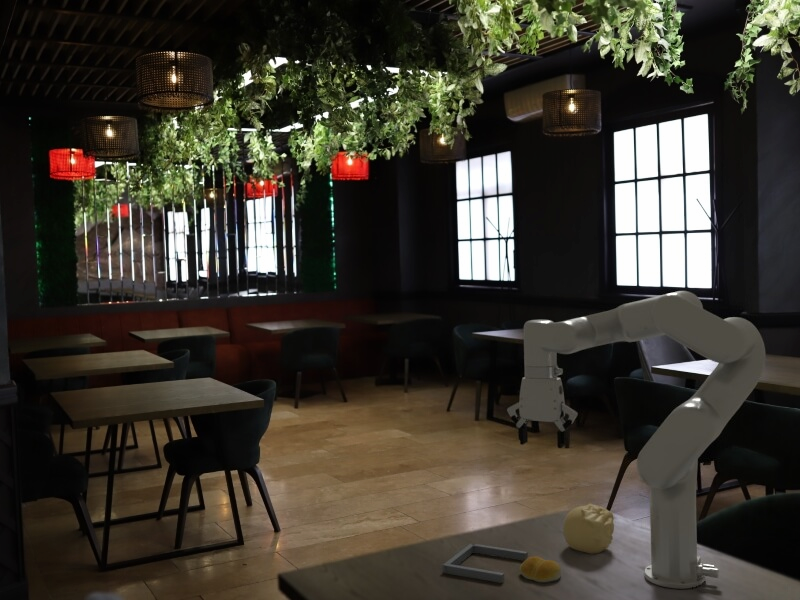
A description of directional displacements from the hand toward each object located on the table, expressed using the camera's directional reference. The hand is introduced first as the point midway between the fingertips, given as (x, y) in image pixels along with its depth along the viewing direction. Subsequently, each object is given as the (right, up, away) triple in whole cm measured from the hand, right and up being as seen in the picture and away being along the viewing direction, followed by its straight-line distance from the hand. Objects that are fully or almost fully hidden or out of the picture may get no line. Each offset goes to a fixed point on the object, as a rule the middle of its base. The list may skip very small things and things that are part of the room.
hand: (542, 444), depth 196 cm
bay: (-13, -27, -4) cm, 31 cm away
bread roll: (-2, -28, -10) cm, 30 cm away
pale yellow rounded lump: (+12, -26, +4) cm, 29 cm away
